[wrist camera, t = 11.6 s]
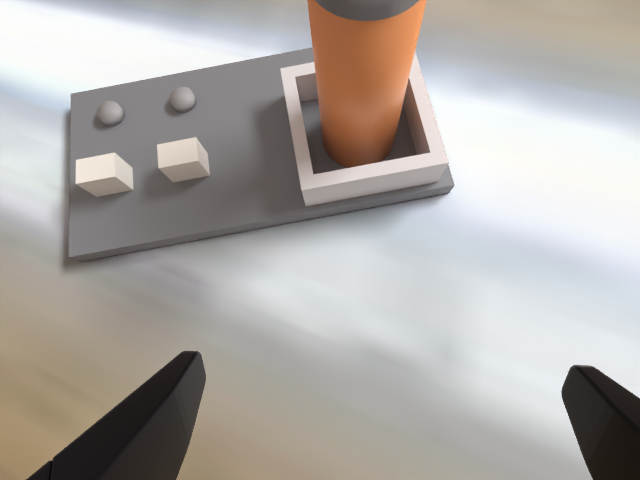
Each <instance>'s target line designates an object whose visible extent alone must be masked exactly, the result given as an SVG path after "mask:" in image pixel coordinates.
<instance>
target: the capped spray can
mask: <svg viewBox="0 0 640 480" xmlns="http://www.w3.org/2000/svg"><path fill="white" fill-rule="evenodd" d="M425 5H426V0H308V8H309V18H310V27H311V37H312V46H313V55H314V65H315V74H316V84H317V93H318V103H319V112H320V121H321V131H322V140H323V145H324V148H325V150H326V152H327V154H328V155H329V156H330V158H331V159H333V160H334V161H335V162H336V163H338V164H340V165H342V166H344V167H347V168H351V167H356V166H362V165H367V164H372V163H378V162H381V161H383V160H384V159H385V158H386V157H387V156H388V154H389V153H390V151H391V150H392V147H393V144H394V140H395V136H396V131H397V127H398V123H399V118H400V114H401V110H402V105H403V101H404V96H405V92H406V88H407V83H408V79H409V75H410V70H411V66H412V61H413V57H414V53H415V48H416V44H417V40H418V35H419V31H420V26H421V22H422V18H423V13H424V9H425Z"/></svg>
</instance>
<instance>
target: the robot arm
mask: <svg viewBox="0 0 640 480" xmlns="http://www.w3.org/2000/svg"><path fill="white" fill-rule="evenodd" d="M205 381H206V374H205V369H204V365H203V360H202V356H201V354H200V352H198V351H183V352H181V353H180V354H179V355H178V356H176V357H175V358H174V359H173V360H172V361H170V362H169V363H168V364H167V365H165V366H164V367H163V368H162V369H161V370H159V371H158V372H157V373H156V374H154V375H153V376H152V377H151V378H150V379H148V380H147V381H146V382H145V383H144V384H142V385H141V386H140V387H139V388H137V389H136V390H135V391H134V392H133V393H131V394H130V395H129V396H128V397H126V398H125V399H124V400H123V401H122V402H120V403H119V404H118V405H117V406H116V407H114V408H113V409H112V410H111V411H109V412H108V413H107V414H106V415H105V416H103V417H102V418H101V419H100V420H98V421H97V422H96V423H95V424H94V425H92V426H91V427H90V428H89V429H88V430H86V431H85V432H84V433H83V434H81V435H80V436H79V437H78V438H77V439H75V440H74V441H73V442H72V443H70V444H69V445H68V446H67V447H66V448H64V449H63V450H62V451H61V452H60V453H58V454H57V455H56V456H55V457H54V458H53V460H52V461H48V462H47V463H46V464H45V465H43V466H42V467H41V468H40V469H39V470H37V471H36V472H35V473H34V474H33V475H31V476H30V477H29V478H28V479H26V480H176V478H177V476H178V473H179V470H180V468H181V465H182V462H183V460H184V457H185V454H186V452H187V449H188V446H189V443H190V439H191V436H192V432H193V428H194V425H195V421H196V417H197V413H198V409H199V405H200V401H201V398H202V394H203V390H204V386H205ZM562 399H563V402H564V405H565V408H566V410H567V413H568V416H569V419H570V422H571V424H572V427H573V430H574V433H575V436H576V438H577V441H578V444H579V447H580V450H581V452H582V455H583V458H584V460H585V463H586V465H587V467H588V470H589V472H590V474H591V476H592V478H593V480H640V398H638V397H637V396H635V395H634V394H633V393H631V392H630V391H628V390H627V389H625V388H624V387H622V386H621V385H619V384H618V383H617V382H615V381H614V380H612V379H611V378H609V377H608V376H606V375H605V374H604V373H602V372H601V371H599V370H598V369H596V368H595V367H593V366H588V365H573V366H572V367H571V368H570V370H569V372H568V375H567V377H566V380H565V382H564V385H563V387H562Z"/></svg>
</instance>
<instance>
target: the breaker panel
mask: <svg viewBox="0 0 640 480" xmlns="http://www.w3.org/2000/svg"><path fill="white" fill-rule="evenodd" d="M448 163H449V162H448V158H447V155H446V152H445V148H444V145H443V142H442V139H441V135H440V132H439V129H438V125H437V122H436V119H435V115H434V112H433V109H432V105H431V102H430V99H429V95H428V92H427V89H426V86H425V82H424V79H423V76H422V72H421V69H420V66H419V62H418V59H417V56H416V52H415V53H414V57H413V61H412V66H411V70H410V75H409V79H408V83H407V88H406V92H405V96H404V101H403V105H402V110H401V114H400V118H399V123H398V127H397V131H396V136H395V140H394V144H393V147H392V150H391V151H390V153H389V154H388V156H387V157H386V158H385V159H384V160H383V161H381V162H378V163H372V164H367V165H362V166H356V167H351V168H347V167H344V166H342V165H340V164H338V163H336V162H335V161H334V160H333V159H331V158H330V156H329V155H328V154H327V152H326V150H325V148H324V145H323V140H322V131H321V121H320V112H319V103H318V93H317V84H316V74H315V65H314V55H313V48H308V49H302V50H297V51H292V52H287V53H282V54H276V55H271V56H266V57H261V58H255V59H250V60H245V61H240V62H235V63H229V64H224V65H219V66H214V67H209V68H203V69H198V70H193V71H188V72H183V73H177V74H172V75H167V76H162V77H157V78H151V79H146V80H141V81H136V82H131V83H125V84H120V85H115V86H110V87H104V88H99V89H94V90H89V91H84V92H78V93H73V94H71V123H70V192H69V258H72V259H75V260H78V261H81V262H82V261H87V260H93V259H98V258H103V257H109V256H114V255H119V254H125V253H130V252H135V251H141V250H146V249H152V248H157V247H162V246H168V245H173V244H178V243H184V242H189V241H194V240H200V239H205V238H210V237H216V236H221V235H227V234H232V233H237V232H243V231H248V230H253V229H259V228H264V227H269V226H275V225H280V224H285V223H291V222H296V221H302V220H307V219H312V218H318V217H323V216H328V215H334V214H339V213H344V212H350V211H355V210H360V209H366V208H371V207H377V206H382V205H387V204H393V203H398V202H403V201H409V200H414V199H419V198H425V197H430V196H435V195H441V194H446V193H449V192H450V191H451V189H452V188H453V186H454V182H453V179H452V175H451V172H450V169H449V166H448Z"/></svg>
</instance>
